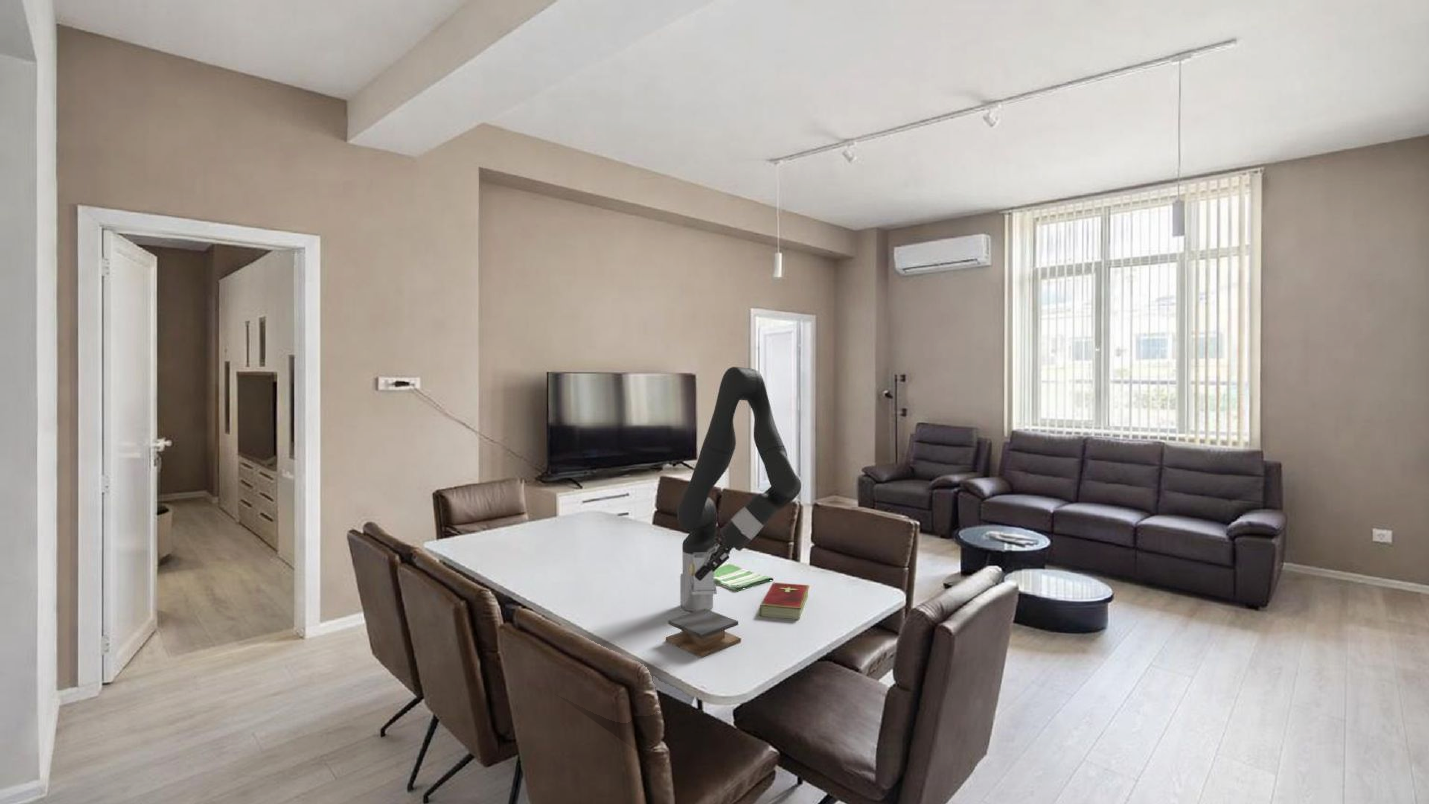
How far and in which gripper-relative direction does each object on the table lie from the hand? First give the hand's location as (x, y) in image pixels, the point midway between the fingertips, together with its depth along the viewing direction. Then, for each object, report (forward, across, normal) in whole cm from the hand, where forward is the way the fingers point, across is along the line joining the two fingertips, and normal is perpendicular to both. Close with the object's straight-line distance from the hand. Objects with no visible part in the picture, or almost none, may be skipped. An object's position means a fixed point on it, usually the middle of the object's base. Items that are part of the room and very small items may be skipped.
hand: (696, 574), depth 173 cm
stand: (+11, 0, +14) cm, 18 cm away
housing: (+2, 0, +4) cm, 5 cm away
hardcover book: (-7, -25, +33) cm, 42 cm away
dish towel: (+3, -53, +23) cm, 58 cm away
